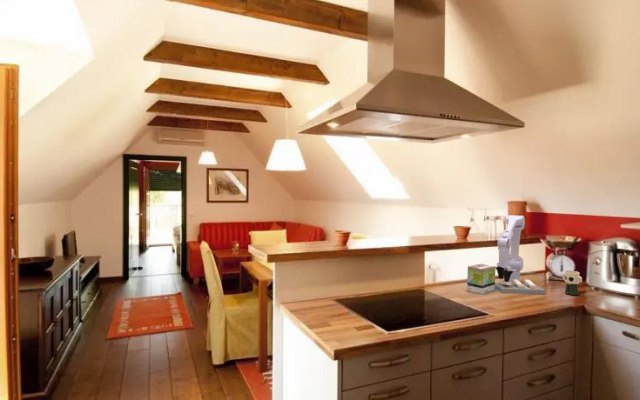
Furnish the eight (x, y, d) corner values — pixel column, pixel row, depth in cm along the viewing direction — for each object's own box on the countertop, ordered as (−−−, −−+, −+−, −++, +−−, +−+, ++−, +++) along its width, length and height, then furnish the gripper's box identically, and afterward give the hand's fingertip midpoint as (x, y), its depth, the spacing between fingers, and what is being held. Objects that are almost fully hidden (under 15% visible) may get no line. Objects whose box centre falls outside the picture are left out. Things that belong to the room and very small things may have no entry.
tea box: (483, 294, 201) (483, 269, 200) (466, 291, 208) (466, 266, 208) (495, 290, 210) (495, 265, 210) (478, 286, 218) (479, 262, 218)
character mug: (557, 292, 206) (558, 270, 206) (566, 291, 208) (567, 269, 208) (576, 297, 196) (577, 274, 195) (585, 296, 198) (586, 273, 198)
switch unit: (491, 286, 218) (492, 281, 217) (532, 287, 216) (532, 282, 216) (502, 293, 204) (502, 287, 203) (545, 294, 202) (545, 288, 202)
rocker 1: (500, 284, 214) (500, 281, 214) (505, 284, 214) (504, 281, 214) (506, 284, 206) (506, 282, 207) (511, 284, 206) (511, 282, 206)
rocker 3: (524, 281, 213) (524, 279, 213) (528, 281, 213) (529, 279, 213) (531, 287, 205) (531, 285, 205) (536, 288, 205) (536, 285, 205)
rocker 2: (512, 281, 214) (512, 279, 213) (516, 281, 213) (517, 279, 213) (518, 287, 206) (518, 285, 206) (523, 287, 206) (523, 285, 205)
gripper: (492, 255, 220) (491, 277, 220) (502, 259, 205) (502, 283, 206) (503, 255, 219) (503, 277, 220) (515, 260, 205) (514, 283, 205)
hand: (503, 280), depth 213 cm, fingers open, 7 cm apart
